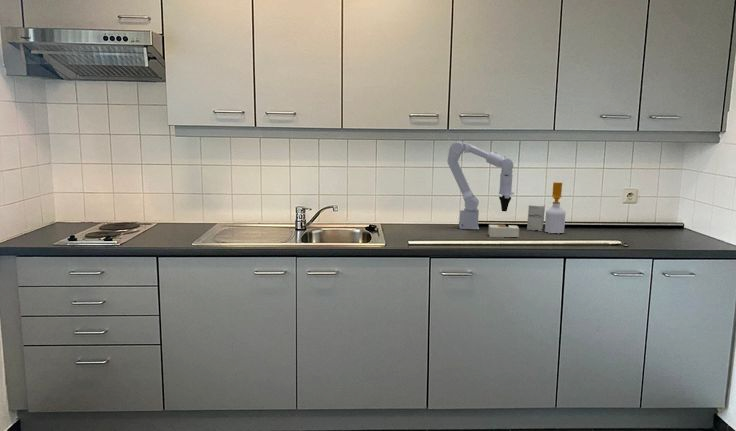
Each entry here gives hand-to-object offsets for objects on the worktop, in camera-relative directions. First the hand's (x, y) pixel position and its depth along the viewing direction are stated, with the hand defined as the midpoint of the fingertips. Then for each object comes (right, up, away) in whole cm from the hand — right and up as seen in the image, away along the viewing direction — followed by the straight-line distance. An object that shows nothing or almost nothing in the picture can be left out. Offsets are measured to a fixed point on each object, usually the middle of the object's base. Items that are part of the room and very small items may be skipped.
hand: (504, 211), depth 270 cm
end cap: (-4, -12, -12) cm, 17 cm away
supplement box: (+17, -9, +5) cm, 20 cm away
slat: (-3, -11, -9) cm, 15 cm away
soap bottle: (+24, -11, -2) cm, 26 cm away
